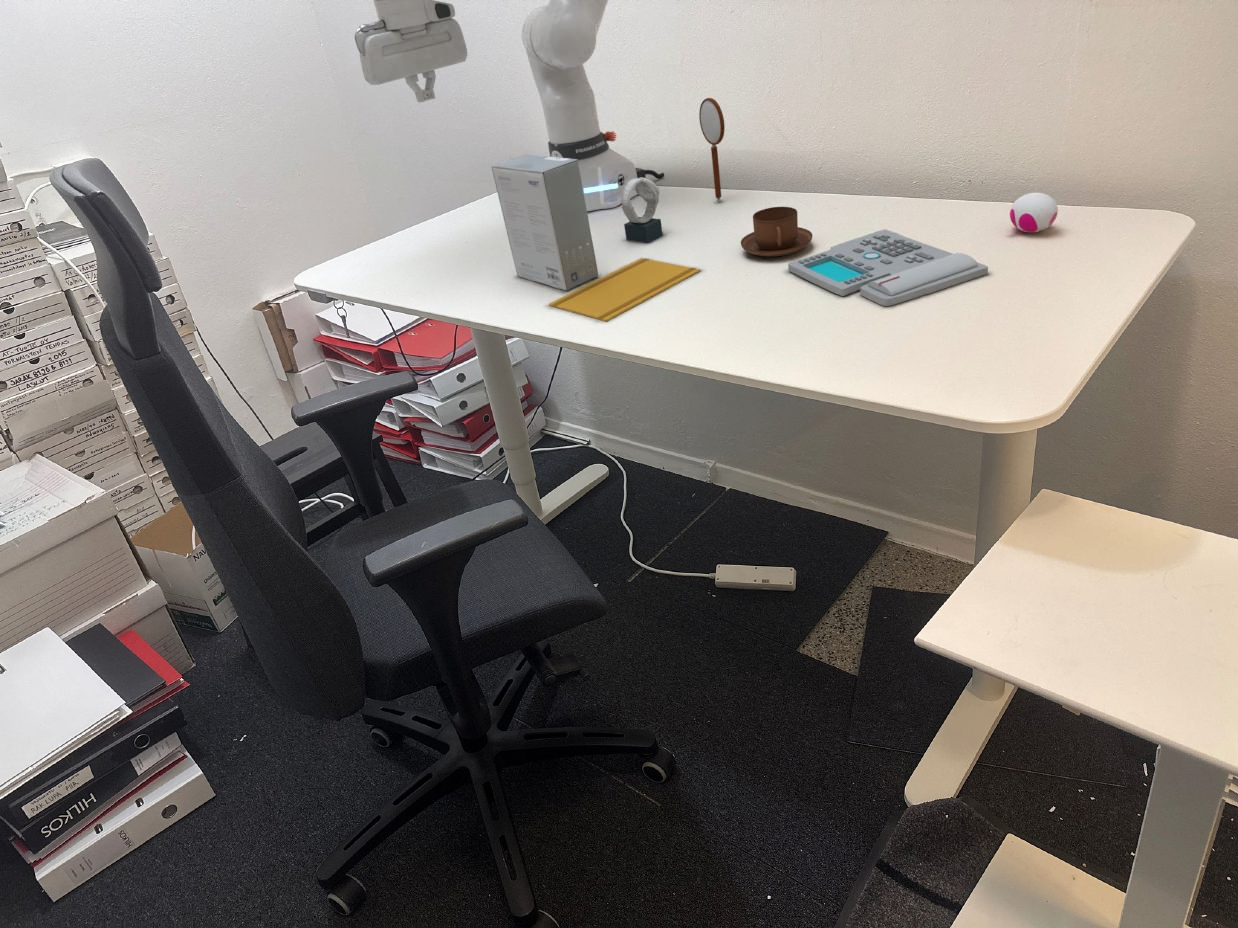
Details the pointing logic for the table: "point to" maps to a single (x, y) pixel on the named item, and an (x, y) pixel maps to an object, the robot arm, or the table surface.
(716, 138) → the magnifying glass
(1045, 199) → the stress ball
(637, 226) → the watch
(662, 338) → the table surface
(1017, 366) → the table surface
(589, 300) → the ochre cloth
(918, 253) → the office telephone
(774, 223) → the cup and saucer
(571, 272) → the hard drive box
